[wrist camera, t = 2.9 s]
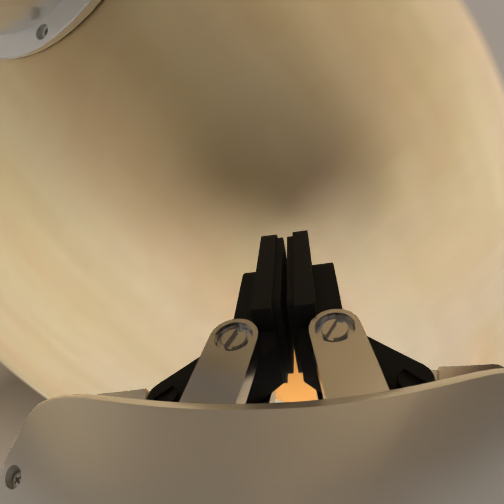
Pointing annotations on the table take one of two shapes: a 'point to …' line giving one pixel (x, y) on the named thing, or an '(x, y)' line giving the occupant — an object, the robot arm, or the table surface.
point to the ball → (295, 388)
